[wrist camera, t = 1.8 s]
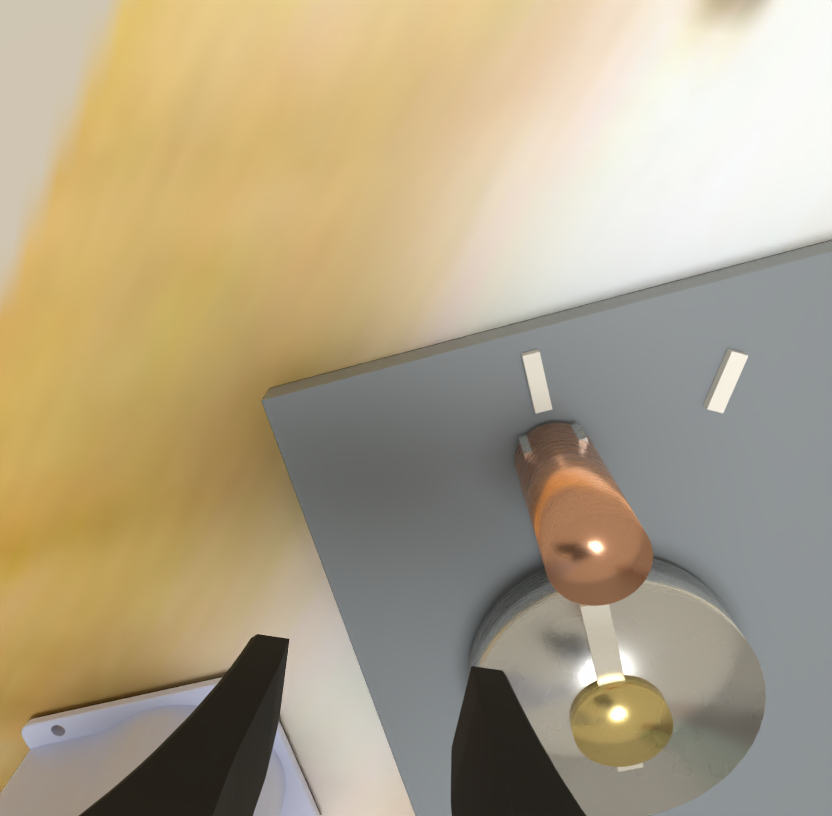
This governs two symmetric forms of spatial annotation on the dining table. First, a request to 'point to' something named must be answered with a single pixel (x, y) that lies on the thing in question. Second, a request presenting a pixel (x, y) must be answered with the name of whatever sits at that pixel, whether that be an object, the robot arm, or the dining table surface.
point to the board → (633, 473)
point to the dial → (617, 645)
